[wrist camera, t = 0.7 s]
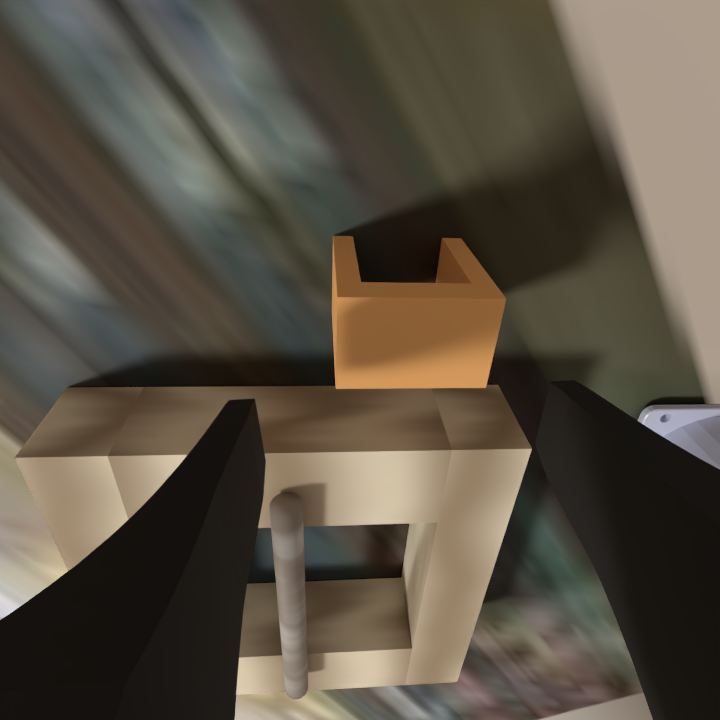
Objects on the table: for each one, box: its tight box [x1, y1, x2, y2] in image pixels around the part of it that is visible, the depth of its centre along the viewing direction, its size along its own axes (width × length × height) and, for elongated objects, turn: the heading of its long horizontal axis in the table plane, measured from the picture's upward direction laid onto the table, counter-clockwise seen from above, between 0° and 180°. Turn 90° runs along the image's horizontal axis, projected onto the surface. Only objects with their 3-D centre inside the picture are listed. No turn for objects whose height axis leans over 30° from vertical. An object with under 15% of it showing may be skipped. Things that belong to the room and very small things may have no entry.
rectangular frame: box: [15, 385, 532, 699], centre depth 23 cm, size 18×18×5 cm
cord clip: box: [332, 236, 506, 389], centre depth 16 cm, size 5×3×5 cm, turn 87°
